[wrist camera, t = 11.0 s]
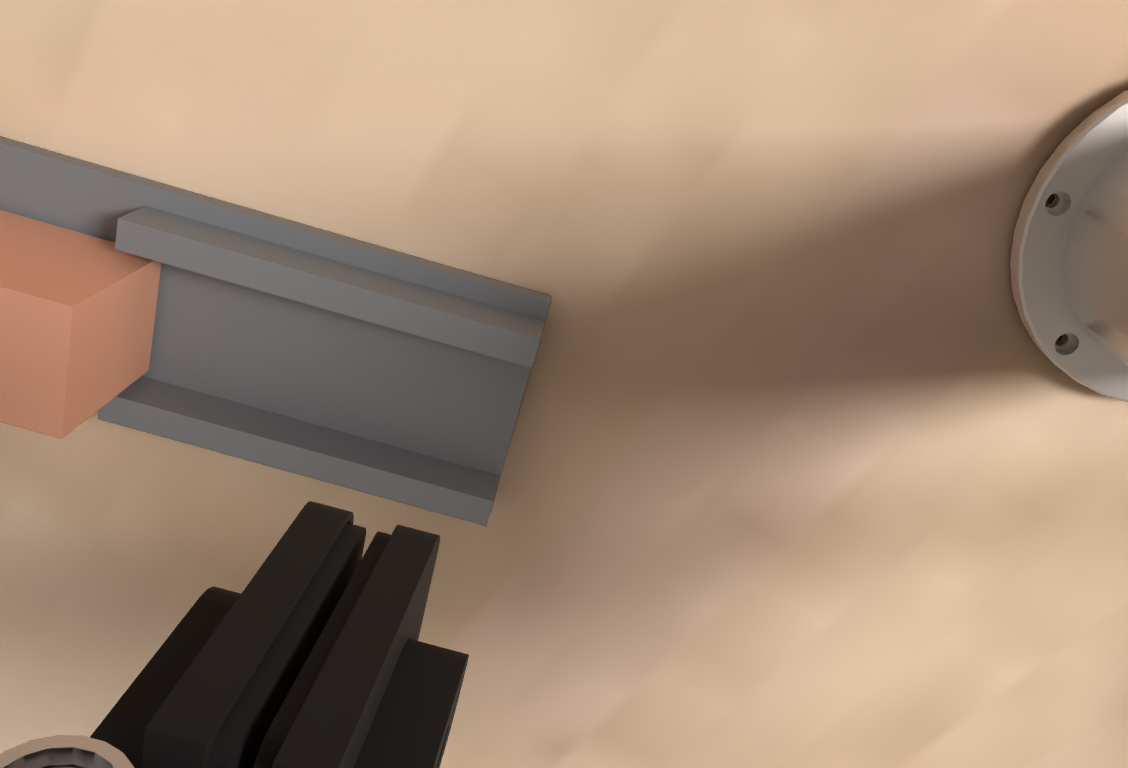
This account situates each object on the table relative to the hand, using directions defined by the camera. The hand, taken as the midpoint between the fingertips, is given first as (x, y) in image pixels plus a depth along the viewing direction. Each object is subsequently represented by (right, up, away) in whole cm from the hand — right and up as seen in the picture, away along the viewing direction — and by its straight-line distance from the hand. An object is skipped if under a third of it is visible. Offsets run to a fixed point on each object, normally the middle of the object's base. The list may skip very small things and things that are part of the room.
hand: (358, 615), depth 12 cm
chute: (-13, +6, +27) cm, 31 cm away
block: (-18, +7, +26) cm, 32 cm away
